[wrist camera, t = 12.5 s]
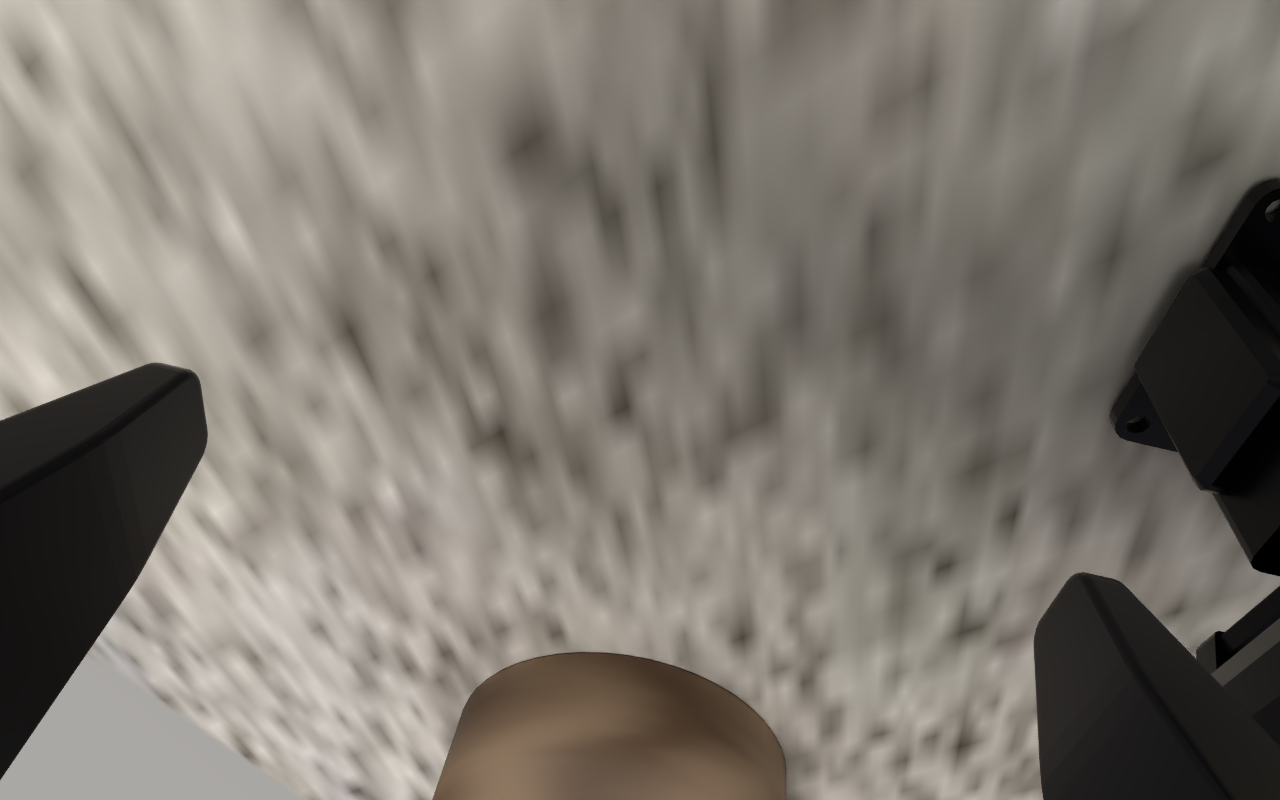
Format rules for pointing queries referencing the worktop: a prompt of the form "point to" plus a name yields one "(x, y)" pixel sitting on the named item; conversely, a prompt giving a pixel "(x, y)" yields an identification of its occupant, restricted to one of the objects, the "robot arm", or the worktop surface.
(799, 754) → the worktop surface
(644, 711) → the walnut plinth
